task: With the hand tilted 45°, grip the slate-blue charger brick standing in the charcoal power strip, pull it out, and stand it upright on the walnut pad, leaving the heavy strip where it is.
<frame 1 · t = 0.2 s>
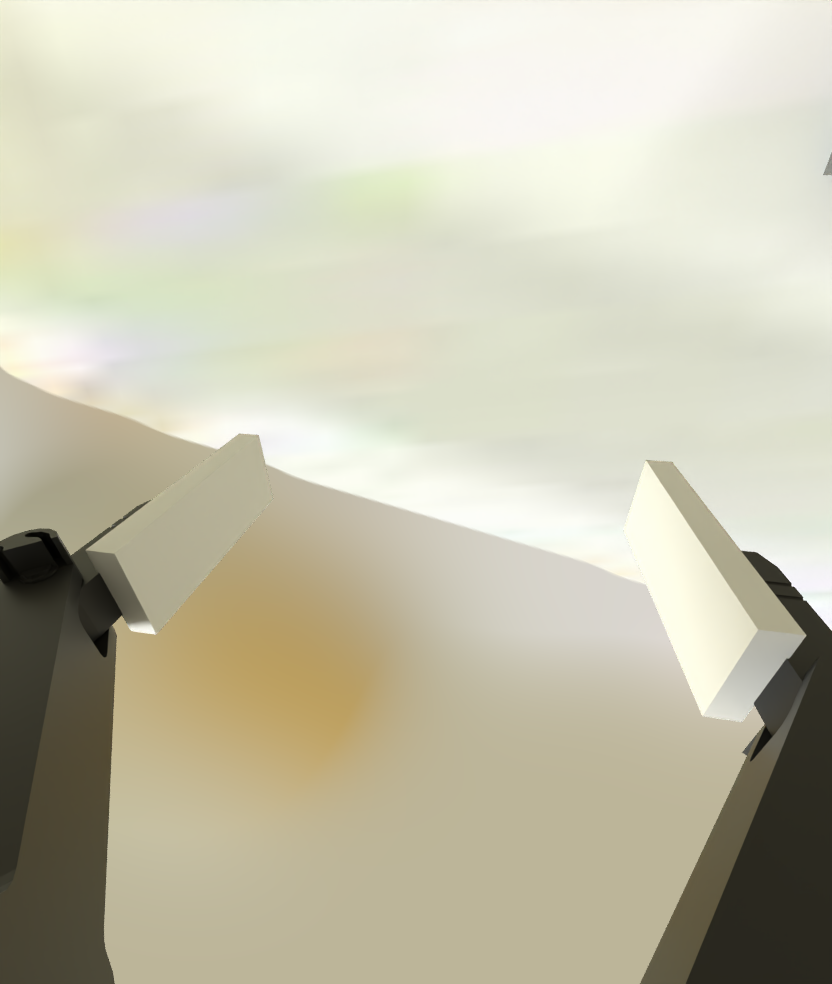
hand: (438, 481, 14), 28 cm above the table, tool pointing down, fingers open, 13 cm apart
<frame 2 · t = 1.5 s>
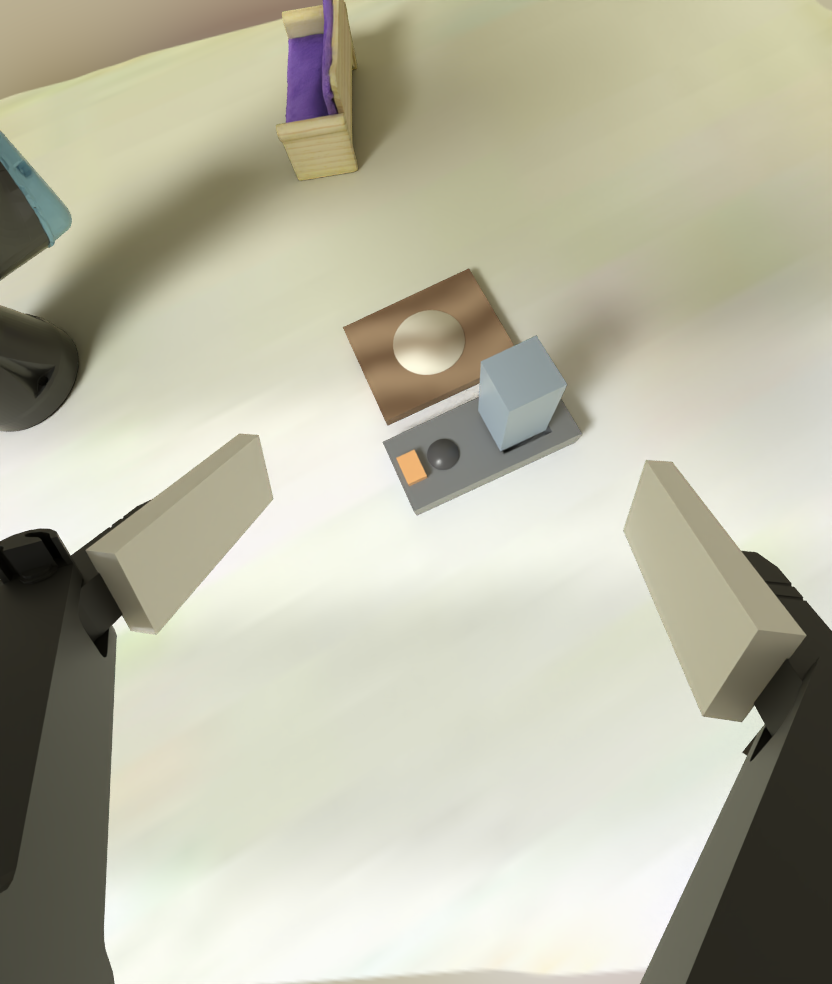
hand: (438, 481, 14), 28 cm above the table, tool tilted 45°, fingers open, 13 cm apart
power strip: (478, 447, 44), on the table
walnut pad: (429, 348, 47), on the table
toy sofa: (329, 123, 57), on the table
charger brick: (508, 430, 43), resting on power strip
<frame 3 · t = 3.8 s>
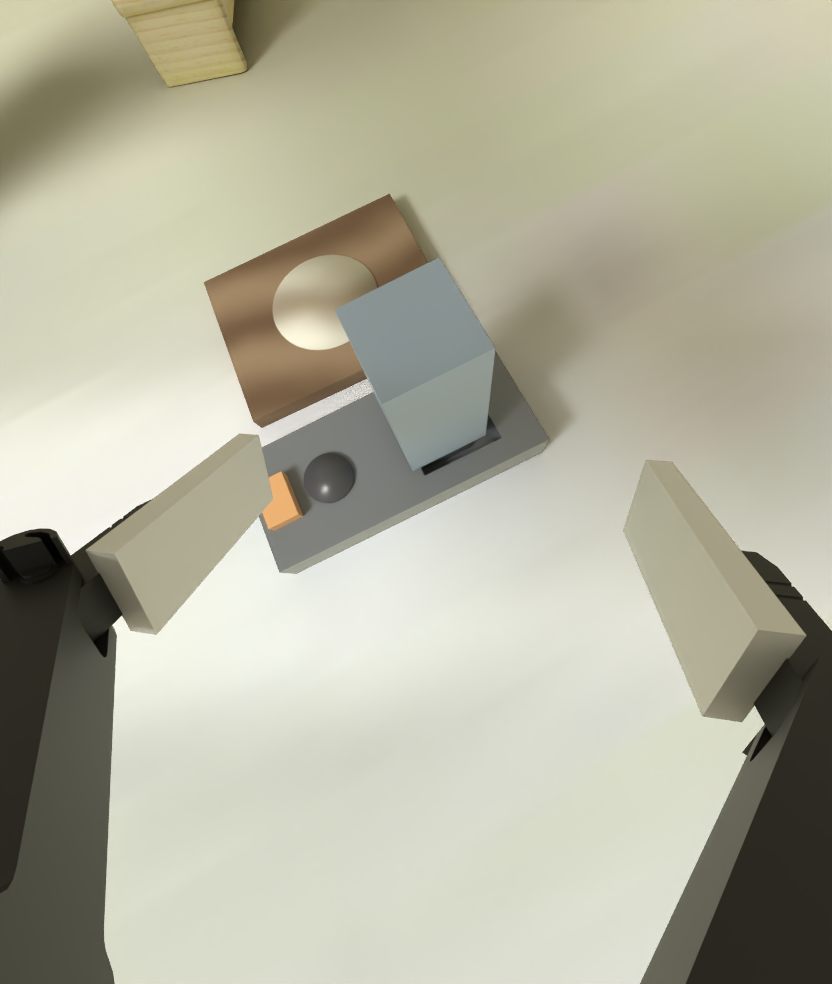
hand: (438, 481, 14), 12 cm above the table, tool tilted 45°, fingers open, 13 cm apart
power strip: (395, 463, 28), on the table, touching charger brick
walnut pad: (330, 312, 31), on the table
toy sofa: (217, 14, 42), on the table
charger brick: (434, 436, 27), resting on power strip
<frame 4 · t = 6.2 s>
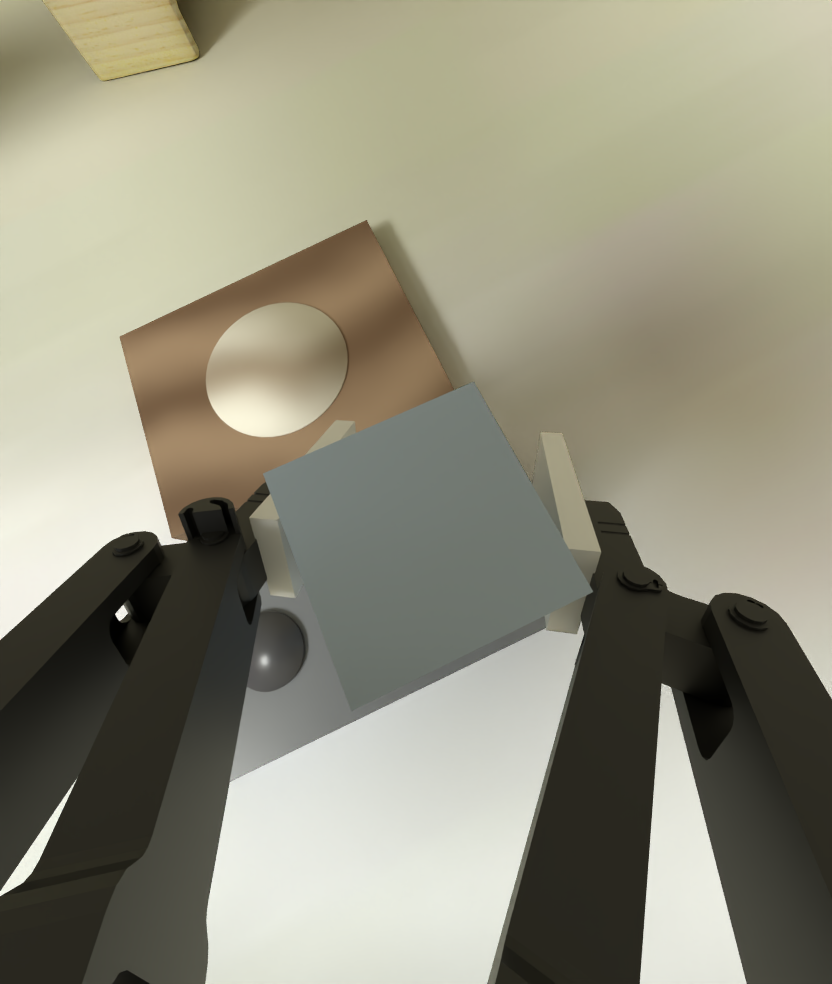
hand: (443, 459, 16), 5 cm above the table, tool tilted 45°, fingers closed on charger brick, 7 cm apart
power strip: (369, 606, 20), on the table, touching charger brick
walnut pad: (285, 378, 23), on the table
charger brick: (427, 574, 19), point 1 cm above the table, tilted 5°, touching gripper, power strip
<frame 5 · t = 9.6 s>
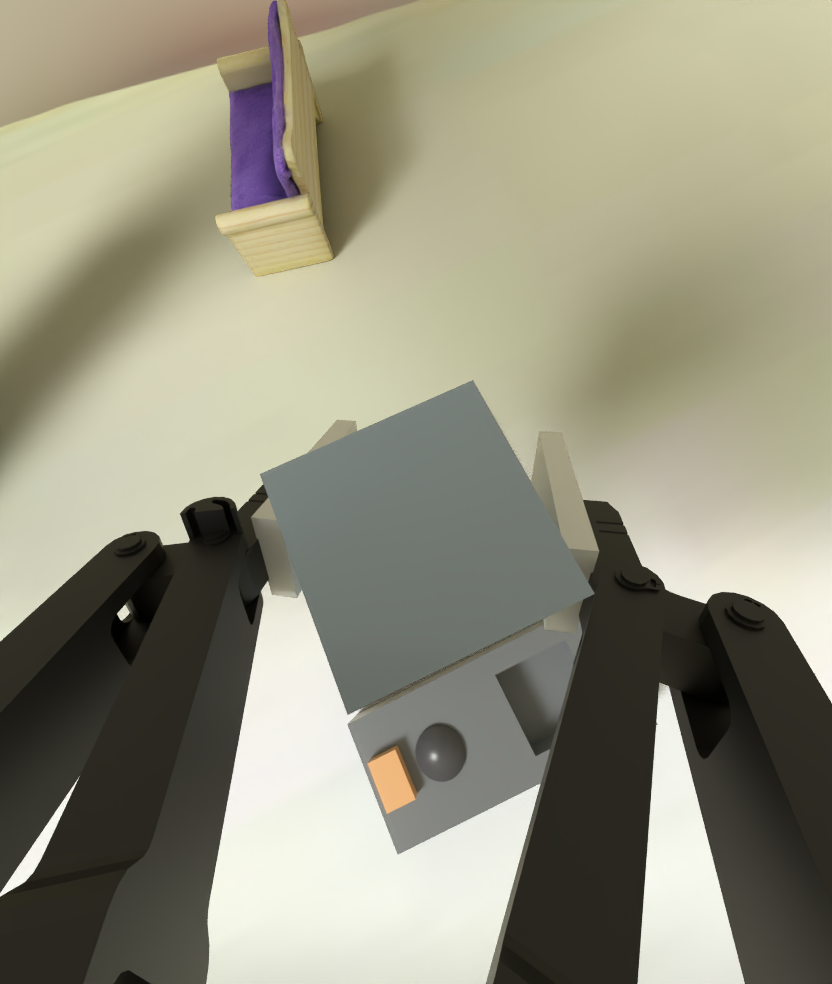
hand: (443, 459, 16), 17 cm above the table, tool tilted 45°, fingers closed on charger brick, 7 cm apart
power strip: (493, 711, 29), on the table
toy sofa: (291, 195, 44), on the table
charger brick: (430, 576, 19), point 13 cm above the table, tilted 5°, touching gripper
when the fingers open (6 cm above the table, at t = 13.0 s): charger brick stays where it is, resting on walnut pad.
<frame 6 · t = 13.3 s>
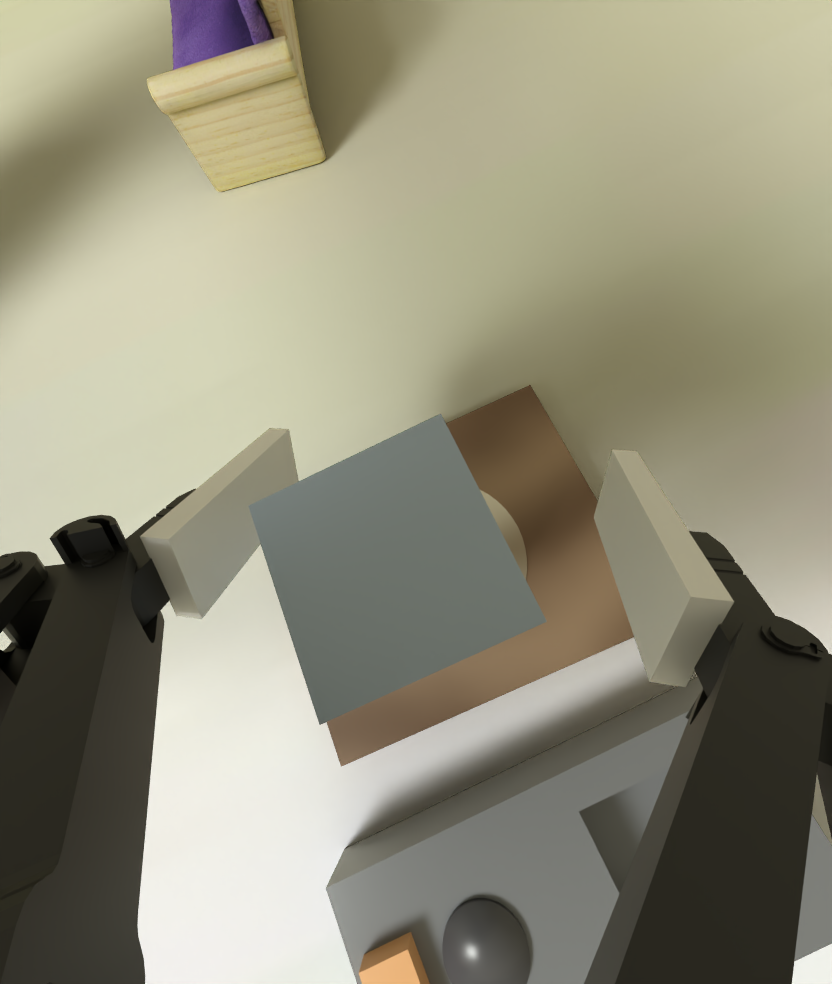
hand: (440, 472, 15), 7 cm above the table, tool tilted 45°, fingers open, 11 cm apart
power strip: (563, 852, 18), on the table
walnut pad: (444, 562, 21), on the table
toy sofa: (261, 88, 32), on the table
charger brick: (438, 577, 20), point 1 cm above the table, touching walnut pad
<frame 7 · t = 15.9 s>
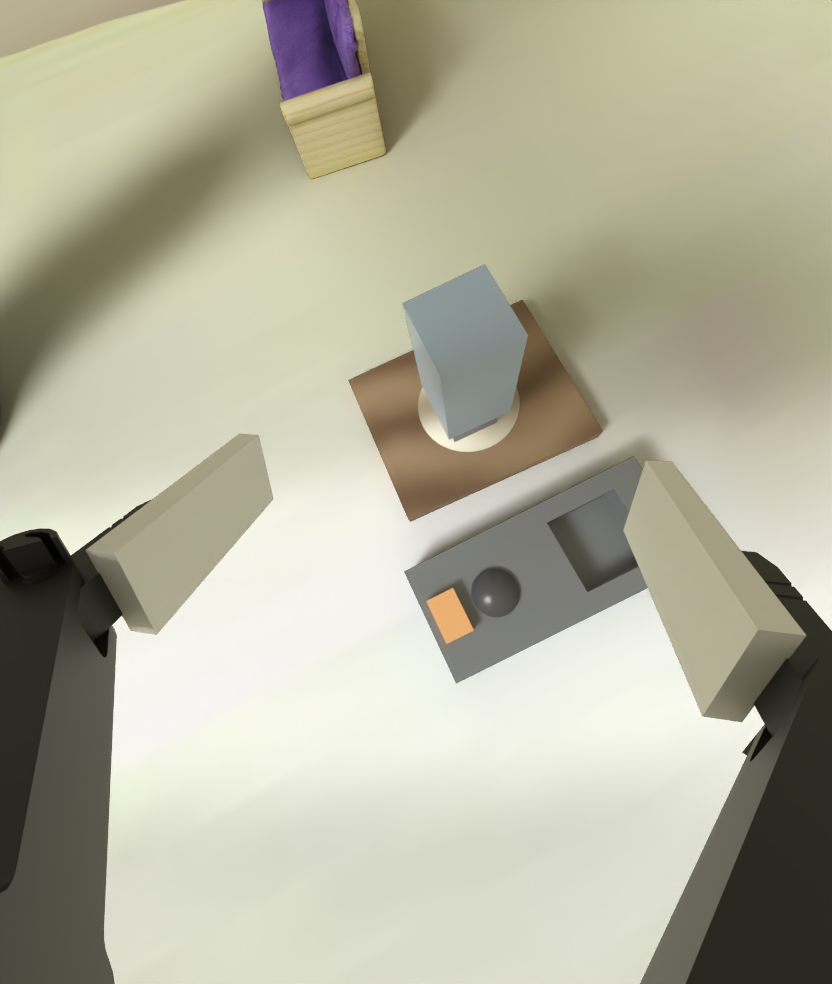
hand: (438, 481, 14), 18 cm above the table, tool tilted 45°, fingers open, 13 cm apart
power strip: (540, 568, 31), on the table
walnut pad: (468, 410, 34), on the table
toy sofa: (331, 104, 44), on the table
charger brick: (465, 413, 32), point 1 cm above the table, touching walnut pad
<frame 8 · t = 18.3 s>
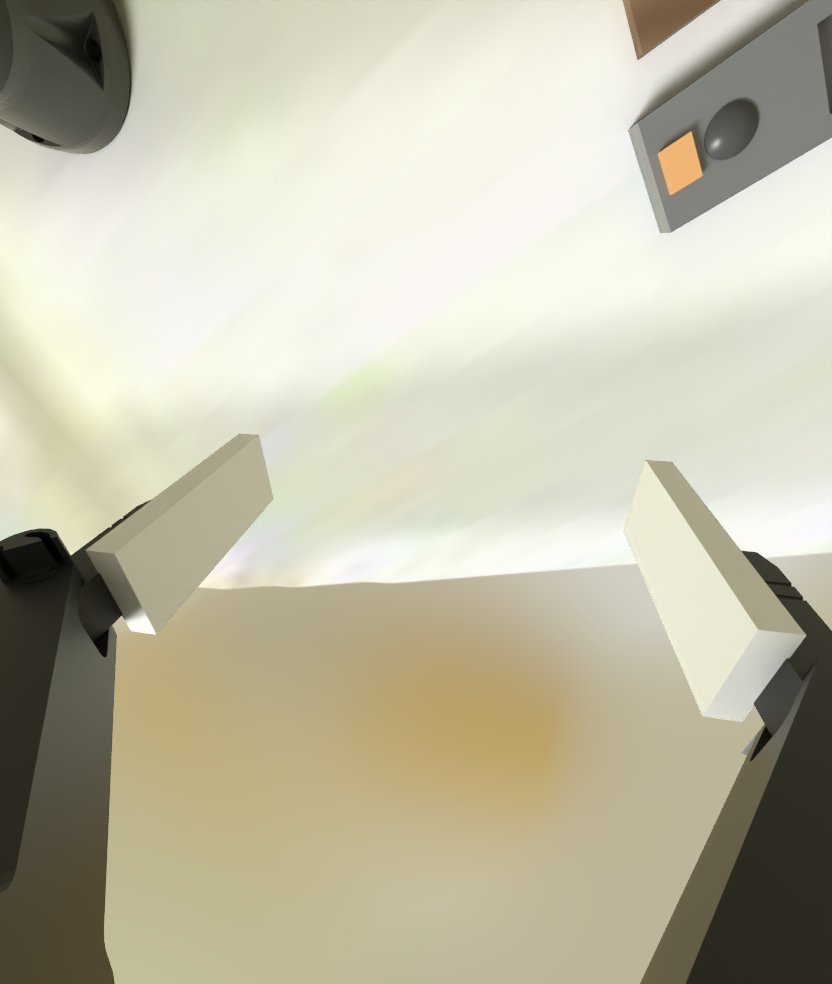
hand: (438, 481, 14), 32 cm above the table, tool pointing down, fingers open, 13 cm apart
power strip: (772, 100, 30), on the table
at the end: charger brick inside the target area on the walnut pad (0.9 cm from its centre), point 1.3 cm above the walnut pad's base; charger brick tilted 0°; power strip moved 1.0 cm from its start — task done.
